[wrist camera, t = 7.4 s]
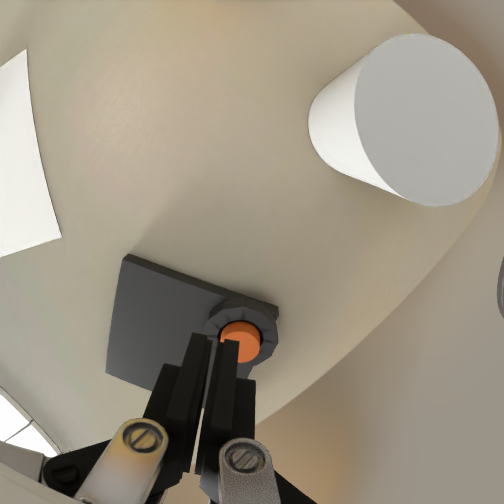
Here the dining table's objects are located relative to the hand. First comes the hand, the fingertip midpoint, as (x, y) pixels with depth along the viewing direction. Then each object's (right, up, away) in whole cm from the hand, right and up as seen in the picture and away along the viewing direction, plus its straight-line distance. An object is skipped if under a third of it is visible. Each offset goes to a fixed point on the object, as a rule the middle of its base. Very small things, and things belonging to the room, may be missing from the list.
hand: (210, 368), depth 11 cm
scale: (-5, -4, +18) cm, 20 cm away
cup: (+10, +14, +12) cm, 21 cm away
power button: (0, -3, +15) cm, 15 cm away
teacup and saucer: (-28, +13, +13) cm, 34 cm away
